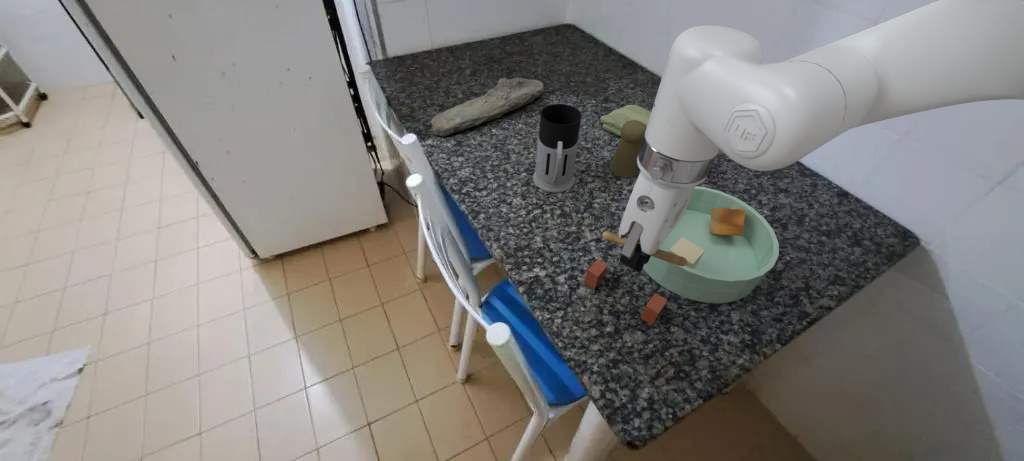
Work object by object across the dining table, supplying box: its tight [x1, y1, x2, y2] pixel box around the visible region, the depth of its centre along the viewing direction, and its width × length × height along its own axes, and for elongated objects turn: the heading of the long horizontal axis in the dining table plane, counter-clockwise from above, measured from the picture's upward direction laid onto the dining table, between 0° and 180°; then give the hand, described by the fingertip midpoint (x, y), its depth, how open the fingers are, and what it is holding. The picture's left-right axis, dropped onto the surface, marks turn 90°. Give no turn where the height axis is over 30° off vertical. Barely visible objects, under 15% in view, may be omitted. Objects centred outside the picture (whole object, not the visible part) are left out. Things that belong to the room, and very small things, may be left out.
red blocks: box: [584, 258, 668, 326], centre depth 60 cm, size 12×3×4 cm, turn 50°
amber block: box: [709, 208, 745, 236], centre depth 68 cm, size 4×4×4 cm
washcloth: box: [599, 104, 652, 137], centre depth 94 cm, size 13×18×3 cm
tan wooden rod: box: [601, 230, 687, 266], centre depth 53 cm, size 12×1×1 cm
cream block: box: [669, 237, 705, 269], centre depth 63 cm, size 4×4×4 cm
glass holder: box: [532, 103, 583, 193], centre depth 75 cm, size 9×14×15 cm, turn 175°
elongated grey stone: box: [430, 77, 545, 138], centre depth 99 cm, size 35×5×10 cm
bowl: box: [642, 185, 780, 304], centre depth 66 cm, size 22×22×6 cm
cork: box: [609, 120, 647, 179], centre depth 81 cm, size 6×6×11 cm
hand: (633, 261), depth 55 cm, fingers closed on tan wooden rod, 1 cm apart
